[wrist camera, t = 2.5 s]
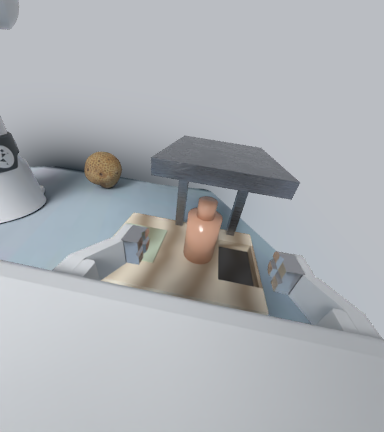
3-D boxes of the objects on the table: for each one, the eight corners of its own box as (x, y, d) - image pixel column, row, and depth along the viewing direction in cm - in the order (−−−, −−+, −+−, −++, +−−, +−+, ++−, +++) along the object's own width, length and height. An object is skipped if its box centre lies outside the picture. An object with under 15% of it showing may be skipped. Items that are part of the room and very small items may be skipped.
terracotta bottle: (180, 260, 26) (187, 206, 21) (186, 240, 30) (193, 190, 25) (211, 267, 26) (227, 213, 20) (213, 245, 30) (226, 196, 25)
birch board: (84, 282, 23) (80, 272, 22) (134, 220, 37) (133, 211, 36) (263, 321, 22) (269, 312, 21) (246, 241, 35) (250, 233, 34)
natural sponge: (105, 198, 43) (98, 159, 38) (80, 188, 45) (70, 150, 40) (129, 187, 50) (127, 153, 45) (107, 179, 53) (102, 146, 47)
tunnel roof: (152, 281, 23) (151, 157, 14) (176, 220, 35) (184, 135, 26) (240, 299, 22) (300, 182, 13) (233, 231, 34) (260, 147, 25)
